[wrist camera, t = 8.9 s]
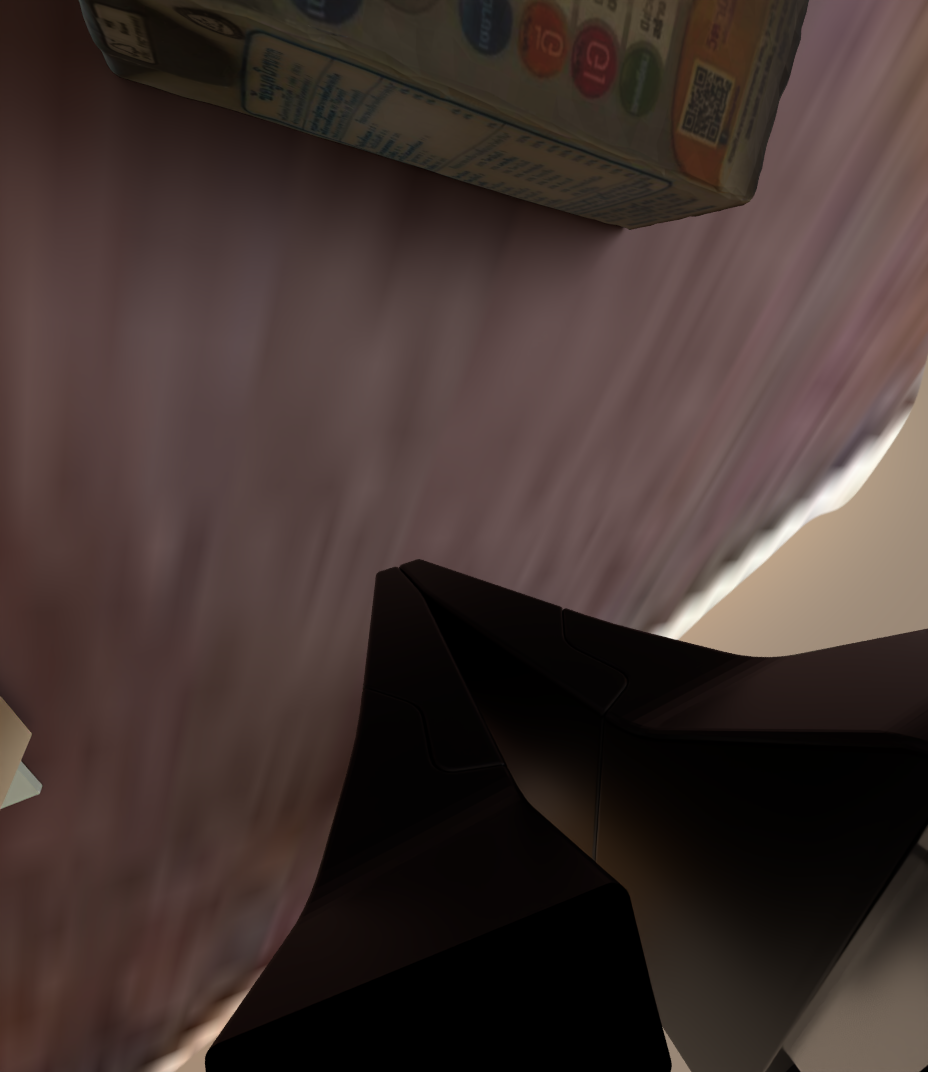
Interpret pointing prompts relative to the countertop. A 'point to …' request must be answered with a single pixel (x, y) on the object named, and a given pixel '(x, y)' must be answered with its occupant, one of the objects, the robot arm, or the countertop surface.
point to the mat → (22, 786)
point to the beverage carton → (494, 87)
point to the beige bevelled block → (10, 746)
